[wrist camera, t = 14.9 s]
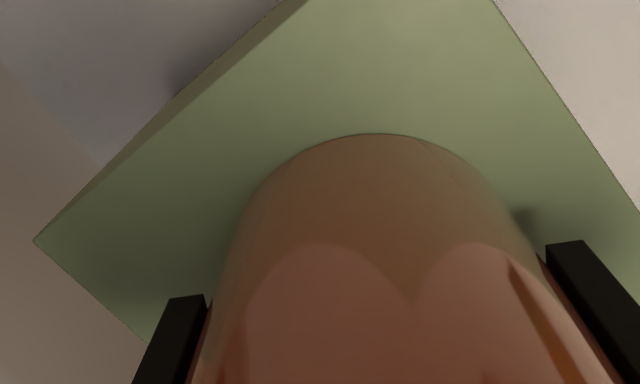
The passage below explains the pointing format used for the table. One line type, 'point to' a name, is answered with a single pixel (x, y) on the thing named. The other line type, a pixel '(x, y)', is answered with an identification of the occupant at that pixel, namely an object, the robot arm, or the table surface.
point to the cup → (388, 280)
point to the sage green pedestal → (329, 124)
